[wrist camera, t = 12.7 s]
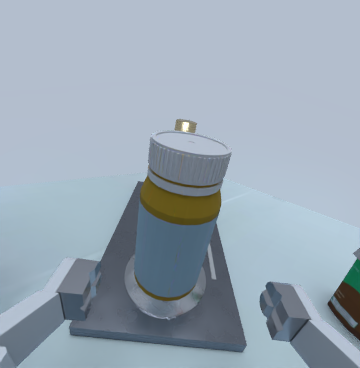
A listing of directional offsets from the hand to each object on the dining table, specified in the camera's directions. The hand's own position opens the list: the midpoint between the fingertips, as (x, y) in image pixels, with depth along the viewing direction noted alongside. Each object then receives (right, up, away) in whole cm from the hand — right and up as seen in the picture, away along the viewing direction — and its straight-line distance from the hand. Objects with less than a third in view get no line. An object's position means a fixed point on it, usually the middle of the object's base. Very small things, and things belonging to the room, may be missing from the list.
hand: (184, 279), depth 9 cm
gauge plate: (-2, -3, +19) cm, 20 cm away
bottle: (-2, -5, +12) cm, 13 cm away
